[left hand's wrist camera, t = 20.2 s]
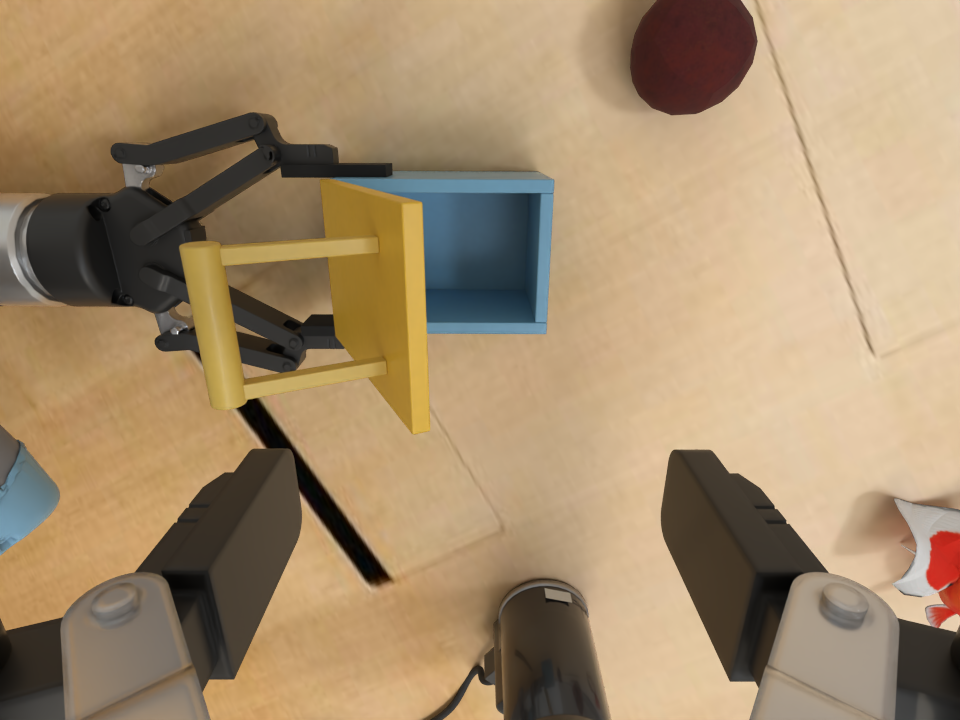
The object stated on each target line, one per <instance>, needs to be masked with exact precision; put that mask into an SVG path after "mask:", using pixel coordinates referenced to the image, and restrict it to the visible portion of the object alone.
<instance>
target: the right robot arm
mask: <svg viewBox="0 0 960 720" xmlns="http://www.w3.org/2000/svg"><path fill="white" fill-rule="evenodd" d="M277 127H278V124H277V121H276V119H275V118H274V117H273V116H271V115H269V114H262V113H254V112H253V113H248V114H244V115H241V116H238V117H235V118H232V119H229V120H225V121H222V122H219V123H216V124H213V125H210V126H206V127H203V128H200V129H197V130H194V131H190V132H187V133H184V134H181V135H178V136H175V137H171V138H168V139H165V140H162V141H159V142H156V143H152V144H149V143H115V144H114V145H112V147H111V155H112V157H113V158H114V160H115V161H117V162H118V163H122V164H123V171H124V177H125V184H126V187H125V188H123V189H121V190H120V191H118V192H116V193H57V194H53V195H50V194H47V193H0V306H52V307H62V306H67V305H70V306H101V307H127V306H135V307H140V308H143V309H145V310H147V311H149V312H152V313H155V317H156V320H157V323H158V326H159V330H160V333H161V335H159V336H158V337H156V339H155V345H156V347H157V348H158V349H159V350H161V351H180V350H192V351H196V352H200V350H199V345H198V340H197V335H196V330H195V325H194V320H193V318H189V317H185V316H181V315H179V314H178V313H177V312H176V310H175V307H176V306H177V305H179V304H180V303H181V302H182V301H184V302H186V303H188V304H190V300H189V295H188V290H187V285H186V280H185V275H184V270H183V265H182V260H181V255H180V250H179V246H180V245H182V244H184V243H189V242H197V241H206V232H205V227H204V226H201V225H200V223H199V222H198V221H199V220H201V219H202V218H204V217H205V216H207V215H208V214H210V213H211V212H213V211H214V210H215V209H216V208H217V207H219V206H220V205H222V204H224V203H225V202H227V201H228V200H230V199H231V198H233V197H235V196H236V195H238V194H239V193H241V192H242V191H244V190H246V189H247V188H249V187H250V186H252V185H253V184H255V183H256V182H258V181H260V180H261V179H263V178H264V177H266V176H267V175H269V174H271V173H272V172H274V171H275V170H277V169H278V168H280V167H281V175H282V177H314V178H335V177H388V176H391V175H393V172H392V163H339V159H338V148H337V147H334V146H332V145H330V144H289V143H287V142H286V141H284V140H283V138H282V137H281V135H280V133H279V131H278V128H277ZM252 140H255V142H256V144H257V146H258V148H259V149H257V150H256V151H254V152H253V153H251V154H250V155H248V156H247V157H245V158H243V159H242V160H240V161H239V162H237V163H236V164H234V165H233V166H231V167H230V168H228V169H227V170H225V171H224V172H222V173H220V174H219V175H217V176H216V177H214V178H213V179H211V180H210V181H208V182H207V183H205V184H204V185H202V186H201V187H199V188H198V189H196V190H194V191H193V192H191V193H190V194H188V195H187V196H185V197H183V198H181V199H178V200H176V201H175V202H172V201H170V200H169V199H167V198H166V197H164V196H163V195H161V194H160V193H158V192H157V191H155V190H154V189H152V188H150V187H149V183H150V180H151V179H152V178H154V177H159V176H160V175H161V174H162V173H163V170H164V164H175V163H180V162H184V161H187V160H190V159H194V158H197V157H200V156H203V155H207V154H210V153H213V152H216V151H219V150H223V149H226V148H229V147H232V146H236V145H239V144H242V143H245V142H248V141H252ZM228 287H229V293H230V299H231V305H232V311H233V316H234V322H235V323H237V324H239V325H241V326H243V327H245V328H247V329H249V330H251V331H253V332H255V333H257V334H259V335H261V336H263V337H265V338H267V339H265V338H261V337H257V336H253V335H249V334H245V333H241V332H237V331H236V334H237V340H238V345H239V351H240V357H241V363H244V364H248V365H252V366H256V367H260V368H264V369H268V370H272V371H276V372H280V373H284V372H290V371H296V369H297V368H298V367H299V366H300V365H301V363H302V362H303V361H304V360H305V358H306V350H307V349H344V346H343V345H342V344H341V343H340V341H339V340H338V339H337V337H336V336H335V326H334V316H333V315H319V314H312V315H311V316H310V317H309V318H308V319H307V320H306V321H305V322H304V323H302V322H300V321H298V320H296V319H294V318H292V317H290V316H288V315H286V314H284V313H282V312H280V311H278V310H276V309H274V308H272V307H270V306H268V305H266V304H264V303H262V302H260V301H258V300H256V299H254V298H252V297H250V296H248V295H246V294H244V293H242V292H240V291H238V290H236V289H234V288H232V287H230V286H229V285H228ZM59 499H60V492H59V489H58V487H57V485H56V484H55V482H54V481H53V480H52V479H51V478H50V477H49V475H48V474H47V473H46V472H45V471H44V470H43V468H42V467H41V466H40V465H39V464H38V462H37V461H36V460H35V459H34V458H33V456H32V455H31V454H30V453H29V452H28V450H27V449H26V447H25V445H24V443H22V442H21V441H19V440H16V439H15V438H13V437H12V436H11V435H10V434H9V433H8V432H7V431H6V430H5V429H4V428H3V427H2V426H1V425H0V555H1V554H3V553H4V552H5V551H6V550H7V549H8V548H10V547H11V546H12V545H14V544H15V543H17V542H18V541H20V540H21V539H23V538H24V537H25V536H27V535H28V534H29V533H30V532H32V531H33V530H34V529H35V528H37V527H38V526H39V525H40V524H41V523H42V522H43V521H44V520H45V519H46V518H47V517H48V516H49V515H50V514H51V513H52V512H53V511H54V509H55V508H56V506H57V505H58V502H59Z"/></svg>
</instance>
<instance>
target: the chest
mask: <svg viewBox="0 0 960 720" xmlns="http://www.w3.org/2000/svg"><path fill="white" fill-rule="evenodd" d="M392 172H393V175H391V176H388V177H335V178H330V179H335V180H339V181H342V182H346V183H350V184H354V185H358V186H362V187H366V188H370V189H374V190H378V191H381V192H385V193H389V194H393V195H397V196H401V197H405V198H409V199H413V200H417V201H420V202H422V204H423V234H424V263H425V292H426V321H427V334H546V330H547V323H546V322H547V309H548V290H549V271H550V252H551V232H552V213H553V193H554V180H553V179H551V178H550V177H548V176H546V175H544V174H542V173H540V172H524V171H392Z"/></svg>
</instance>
